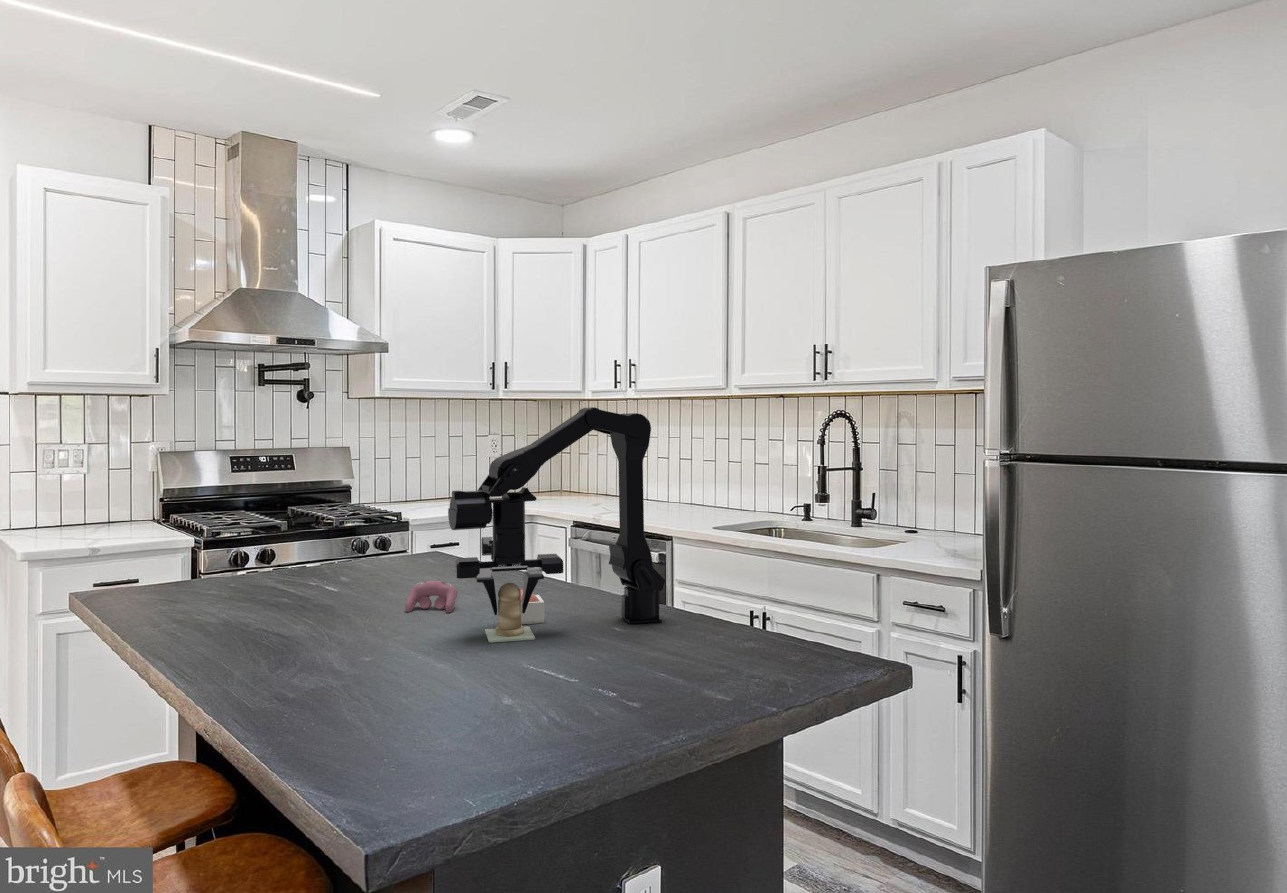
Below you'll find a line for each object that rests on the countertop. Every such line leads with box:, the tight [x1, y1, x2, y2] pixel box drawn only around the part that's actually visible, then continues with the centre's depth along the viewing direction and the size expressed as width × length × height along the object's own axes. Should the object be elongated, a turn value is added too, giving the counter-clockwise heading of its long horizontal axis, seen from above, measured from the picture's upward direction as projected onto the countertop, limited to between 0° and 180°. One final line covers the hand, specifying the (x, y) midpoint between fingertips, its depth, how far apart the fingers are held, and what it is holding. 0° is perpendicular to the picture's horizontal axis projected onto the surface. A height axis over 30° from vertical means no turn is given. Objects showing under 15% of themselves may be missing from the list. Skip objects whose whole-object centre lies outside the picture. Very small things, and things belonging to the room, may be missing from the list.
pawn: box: [494, 582, 525, 637], centre depth 152 cm, size 5×5×9 cm
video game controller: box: [404, 580, 458, 614], centre depth 173 cm, size 10×5×7 cm, turn 85°
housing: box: [521, 594, 545, 625], centre depth 164 cm, size 7×7×4 cm
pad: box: [484, 626, 536, 643], centre depth 152 cm, size 8×8×1 cm
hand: (509, 613), depth 152 cm, fingers open, 5 cm apart
